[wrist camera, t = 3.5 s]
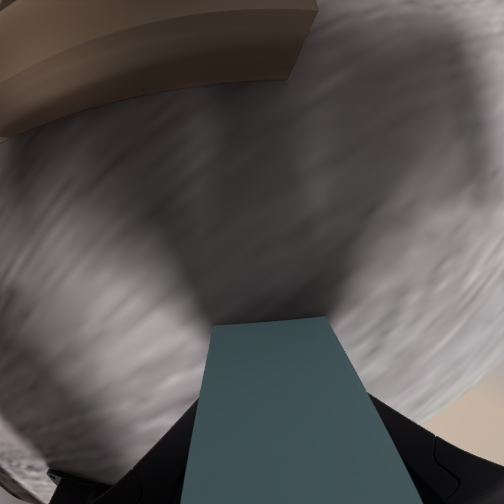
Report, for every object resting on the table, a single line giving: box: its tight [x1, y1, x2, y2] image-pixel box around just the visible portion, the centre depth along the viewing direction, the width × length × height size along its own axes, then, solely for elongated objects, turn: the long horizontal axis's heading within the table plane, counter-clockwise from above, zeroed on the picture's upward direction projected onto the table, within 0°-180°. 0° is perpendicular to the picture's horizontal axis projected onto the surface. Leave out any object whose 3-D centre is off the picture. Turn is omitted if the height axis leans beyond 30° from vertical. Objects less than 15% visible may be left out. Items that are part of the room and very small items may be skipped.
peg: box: [180, 316, 423, 504], centre depth 6 cm, size 4×4×8 cm
